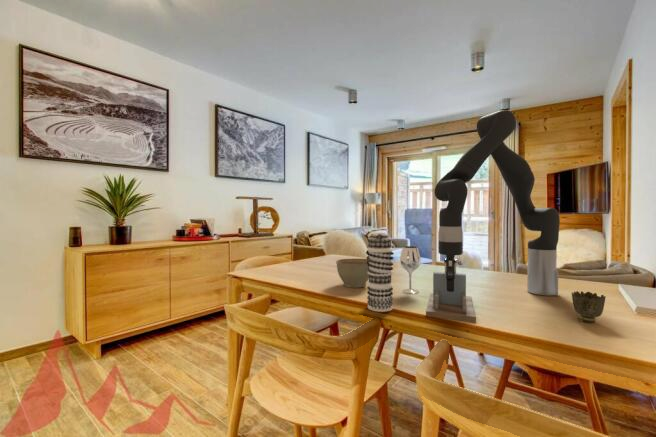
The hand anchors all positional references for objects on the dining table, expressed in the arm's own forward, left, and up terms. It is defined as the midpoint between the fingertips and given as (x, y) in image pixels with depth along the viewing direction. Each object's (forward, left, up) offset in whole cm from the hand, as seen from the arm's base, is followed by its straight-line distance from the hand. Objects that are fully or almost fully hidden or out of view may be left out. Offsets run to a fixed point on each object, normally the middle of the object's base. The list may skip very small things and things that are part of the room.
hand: (450, 288), depth 100 cm
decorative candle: (+22, +8, -7) cm, 24 cm away
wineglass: (+15, -16, -7) cm, 23 cm away
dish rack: (0, 0, -7) cm, 7 cm away
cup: (-37, -1, -7) cm, 38 cm away
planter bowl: (+39, -18, -7) cm, 43 cm away
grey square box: (0, 0, -5) cm, 5 cm away
